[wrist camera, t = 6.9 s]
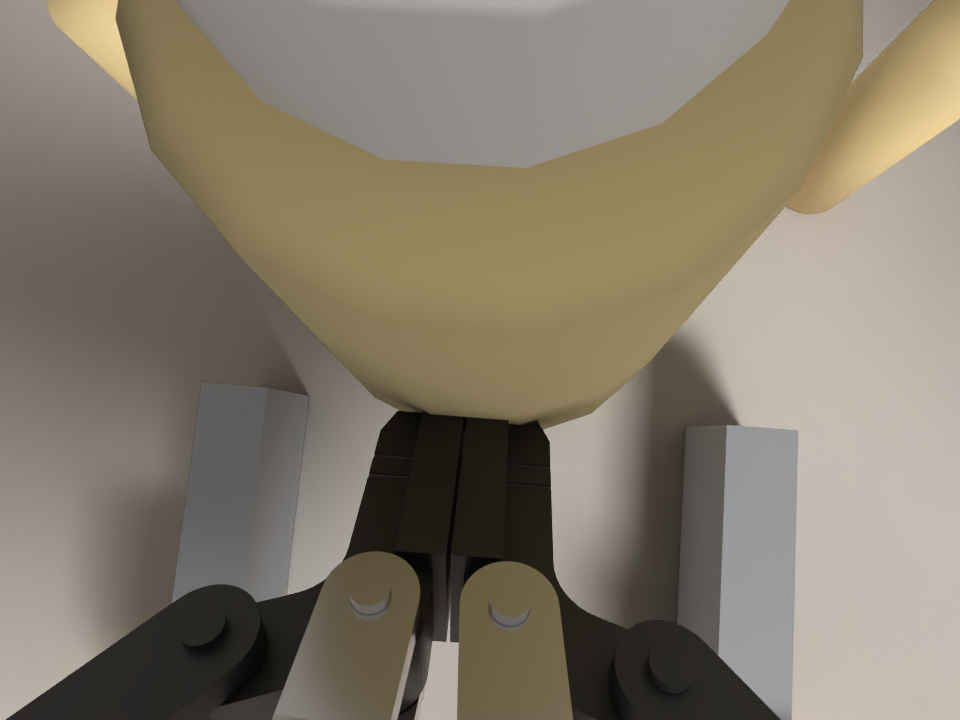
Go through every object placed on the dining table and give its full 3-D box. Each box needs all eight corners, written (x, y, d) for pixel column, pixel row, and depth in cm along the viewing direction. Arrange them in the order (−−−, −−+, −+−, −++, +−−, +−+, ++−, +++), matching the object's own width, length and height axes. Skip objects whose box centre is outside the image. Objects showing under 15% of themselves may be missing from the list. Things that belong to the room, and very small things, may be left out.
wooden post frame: (846, 145, 17) (1029, -8, 11) (835, 858, 15) (1054, 1133, 9) (203, 105, 18) (55, -59, 12) (107, 778, 16) (-130, 985, 10)
